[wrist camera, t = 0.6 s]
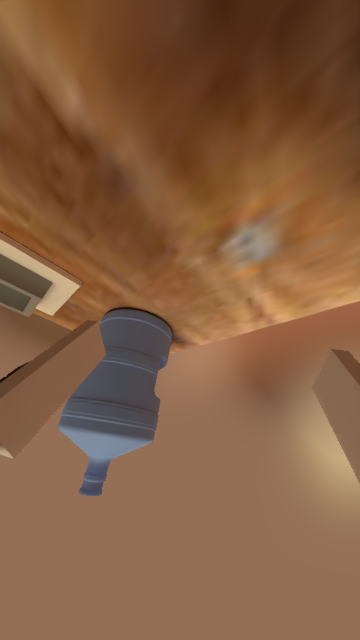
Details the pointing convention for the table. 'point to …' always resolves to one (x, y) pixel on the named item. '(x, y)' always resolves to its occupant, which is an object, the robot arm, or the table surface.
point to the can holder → (31, 280)
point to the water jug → (118, 393)
